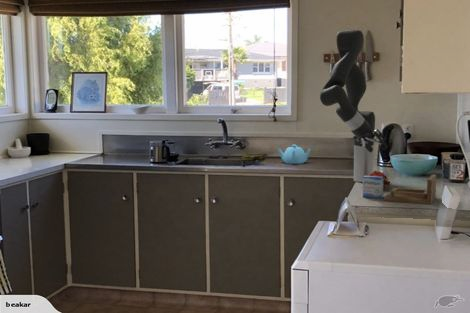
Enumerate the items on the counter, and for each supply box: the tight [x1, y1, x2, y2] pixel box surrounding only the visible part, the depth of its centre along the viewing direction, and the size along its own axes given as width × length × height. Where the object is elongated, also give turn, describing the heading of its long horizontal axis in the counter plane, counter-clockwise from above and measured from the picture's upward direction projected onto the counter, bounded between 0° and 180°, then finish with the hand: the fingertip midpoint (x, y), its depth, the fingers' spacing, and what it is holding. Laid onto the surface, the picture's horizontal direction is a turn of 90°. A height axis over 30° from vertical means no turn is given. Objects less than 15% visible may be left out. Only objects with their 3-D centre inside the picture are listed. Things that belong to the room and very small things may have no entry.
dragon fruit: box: [369, 170, 391, 189], centre depth 270 cm, size 8×8×12 cm
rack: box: [383, 174, 437, 205], centre depth 245 cm, size 14×18×10 cm
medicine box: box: [362, 176, 384, 199], centre depth 251 cm, size 8×4×9 cm, turn 69°
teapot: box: [277, 144, 312, 165], centre depth 358 cm, size 15×15×11 cm
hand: (379, 149), depth 260 cm, fingers open, 8 cm apart
